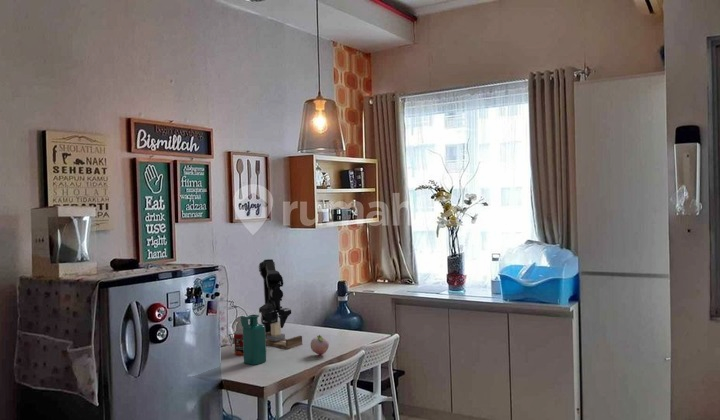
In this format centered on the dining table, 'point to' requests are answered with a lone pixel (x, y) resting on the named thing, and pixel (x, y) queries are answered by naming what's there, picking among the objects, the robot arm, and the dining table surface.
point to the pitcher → (253, 340)
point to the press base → (285, 342)
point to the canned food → (238, 342)
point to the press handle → (275, 333)
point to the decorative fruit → (319, 345)
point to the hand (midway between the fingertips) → (275, 327)
